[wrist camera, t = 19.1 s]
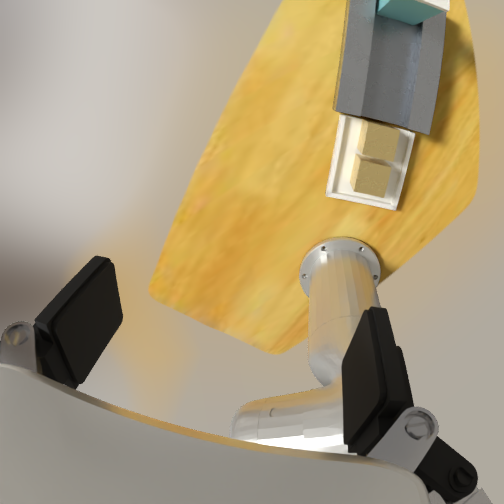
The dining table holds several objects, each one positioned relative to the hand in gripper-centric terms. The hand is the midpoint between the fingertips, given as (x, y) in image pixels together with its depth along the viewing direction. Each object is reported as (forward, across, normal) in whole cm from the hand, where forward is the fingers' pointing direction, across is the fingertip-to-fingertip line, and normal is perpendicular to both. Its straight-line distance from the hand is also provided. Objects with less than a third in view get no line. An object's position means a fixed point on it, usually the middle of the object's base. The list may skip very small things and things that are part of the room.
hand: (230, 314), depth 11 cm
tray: (+33, -11, 0) cm, 35 cm away
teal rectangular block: (+31, -11, -21) cm, 39 cm away
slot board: (+33, -11, -15) cm, 38 cm away
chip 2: (+33, -11, +2) cm, 35 cm away
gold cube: (+33, -11, -3) cm, 35 cm away
